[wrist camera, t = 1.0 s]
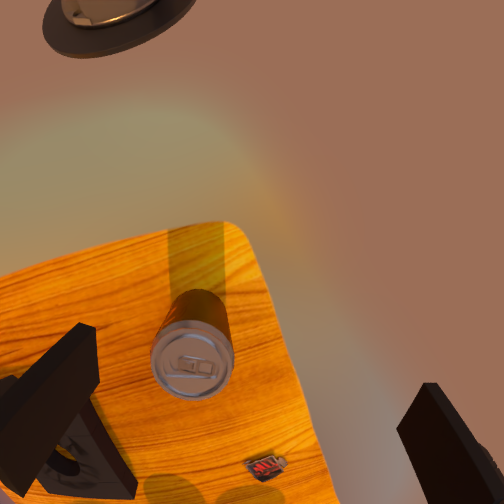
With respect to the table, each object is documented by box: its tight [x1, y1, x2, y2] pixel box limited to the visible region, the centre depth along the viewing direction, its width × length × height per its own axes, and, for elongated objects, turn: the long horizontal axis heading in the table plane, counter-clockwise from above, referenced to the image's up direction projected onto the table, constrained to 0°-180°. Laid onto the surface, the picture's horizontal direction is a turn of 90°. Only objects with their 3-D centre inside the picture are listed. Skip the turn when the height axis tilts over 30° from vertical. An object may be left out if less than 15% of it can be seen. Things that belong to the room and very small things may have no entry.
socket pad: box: [36, 398, 138, 500], centre depth 26 cm, size 15×15×4 cm
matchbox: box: [243, 455, 288, 482], centre depth 31 cm, size 5×5×1 cm
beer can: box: [150, 289, 234, 401], centre depth 23 cm, size 5×5×12 cm
